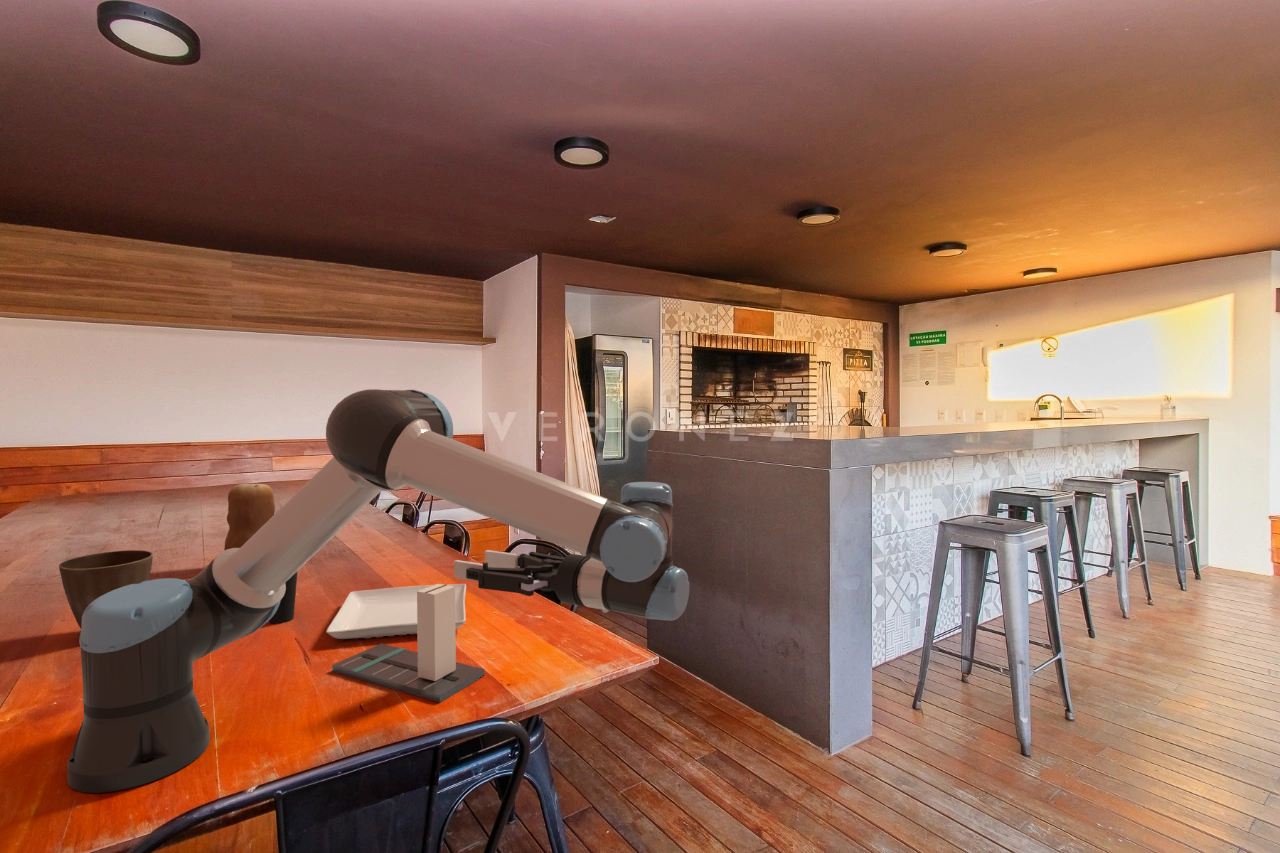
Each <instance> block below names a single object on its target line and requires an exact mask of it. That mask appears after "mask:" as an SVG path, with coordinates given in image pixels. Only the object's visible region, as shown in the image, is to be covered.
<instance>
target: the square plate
mask: <svg viewBox="0 0 1280 853" xmlns="http://www.w3.org/2000/svg"><path fill="white" fill-rule="evenodd" d="M433 585H434V584H426V585H412V586H411V585H410V586H399V587H385V588H376V589H367V590H366V589H365V590H354V591H350V592H349V593H348V595H347V596H346V598H345V600H344V602H343V603H342V605H341V606H340V608H339V610H338V611H337V613H336V615H335V616H334V618H333V619H332V621H331V623H330V624H329V626H327V629H326V632H325V633H326V634H328V635H329V636H331V637H332V638H334V639H339V640H347V639H358V638H365V639H372V638H371V637H376V638H384V637H383V636H388V637H395V636H394V635H399V636H407V634H410V635H417V591H419V590H422V589H425V588H428V587H430V586H433ZM447 585H449V586H454V587H455V627H456V630H457V629H459V628H460V627H461V626H463V625H464V624H465V623H466V618H467V616H466V603H465V602H466V593H467V592H466V591H467V584H466V583H455V584H453V583H452V584H448V583H447Z"/></svg>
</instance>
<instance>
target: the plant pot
mask: <svg viewBox="0 0 1280 853" xmlns="http://www.w3.org/2000/svg"><path fill="white" fill-rule="evenodd" d="M153 557H154V552H153V551H148V550H140V549H139V550H137V549H135V550H133V549H132V550H130V549H129V550H127V549H126V550H115V551H114V550H113V551H106V552H98V553H92V554H86V555H81V556H77V557H73V558H70V559H66V560H65V561H62V562H60V563H59V564H58V569H59V574H60V578H61V582H62V587H63V591H64V592H65V593H64V594H65V595H66V596H65V598H66V599H67V602H68V604H69V607H70V609H71V611H72V612H71V613H72V614H73V616H74V618H75V621H76V623H77V625H78V627H79V629H80V630H81V626H82V615H83V612H84V611H85V609H86V608H87V607H88V605H89V604H90V603H92V602H93V601H94V600H96V599H97V598H99V597H100V596H102V595H104V594H106V593H108V592H111V591H113V590H115V589H118V588H121V587H124V586H127V585H130V584H139V583H142V582H143V581H147V580H150V577H151V572H152V565H153V559H154V558H153Z"/></svg>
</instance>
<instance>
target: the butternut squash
mask: <svg viewBox="0 0 1280 853" xmlns="http://www.w3.org/2000/svg"><path fill="white" fill-rule="evenodd" d="M227 503H228V504H227V505H228V506H227V507H228V508H227V511H228V512H227V515H226V521H227V524H228V527H229V528H228V531H227V535H226V537H225V539H224V540H225V541H224V550H223V551H225V550H227V549H231V548H241V547H242V546H243V545H244V544H245V543H246V542H247V541H248V540H249V539H250V538H251V537H252V536H253V535H254V534H255V533H256V532H257V531H258V530H259V529H260V528H261V527H262V526H263V525H264V524H265V523H266V522H267V521H268V520H269V519H270V518H271V517H272V516H273V515H274V514H275V513H276V511H275V510H276V507H275V504H276V503H275V498H274V492H273V489H272V487H271V486H269V485H268V484H264V483H241V484H240V483H239V484H237V485H235V486H233V487H232V488H231V489H230V490H229V492H228V495H227Z"/></svg>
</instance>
